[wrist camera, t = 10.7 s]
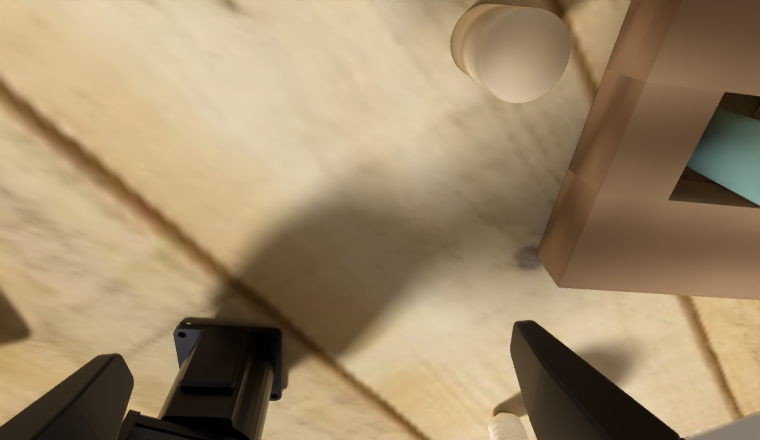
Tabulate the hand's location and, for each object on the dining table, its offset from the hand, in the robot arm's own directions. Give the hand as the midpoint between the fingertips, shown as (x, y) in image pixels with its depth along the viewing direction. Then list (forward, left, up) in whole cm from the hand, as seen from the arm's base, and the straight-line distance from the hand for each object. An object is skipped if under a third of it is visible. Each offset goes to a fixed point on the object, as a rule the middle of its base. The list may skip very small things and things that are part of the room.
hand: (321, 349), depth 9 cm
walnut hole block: (+3, -18, -12) cm, 22 cm away
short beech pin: (+6, -6, -12) cm, 15 cm away
